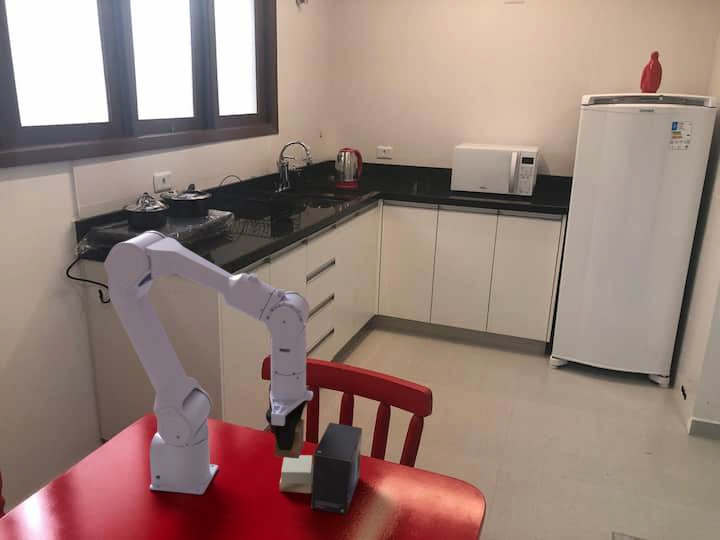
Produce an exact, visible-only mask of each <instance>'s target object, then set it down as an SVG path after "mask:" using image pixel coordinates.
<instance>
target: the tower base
mask: <svg viewBox="0 0 720 540" xmlns="http://www.w3.org/2000/svg"><path fill="white" fill-rule="evenodd" d="M312 485H313V464H312V472H311V483H310V484H303V483H281V479H280V480H279V492H290V493H299V494H300V493H301V494H312Z"/></svg>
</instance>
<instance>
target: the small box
mask: <svg viewBox="0 0 720 540" xmlns="http://www.w3.org/2000/svg"><path fill="white" fill-rule="evenodd" d="M362 435H363V428H362V427H359V426H358V427H357V426H354V425H353V426H352V425H346V424H341V423H334V422H329V423H328V425H327V427H326V429H325V431H324V432H323V435H322V436H321V438H320V441H319V442H318V444H317V446H316V448H315V450H314V453H313V455H312V465H313V485H312V492H311V505H310V508H311V509H312V510H317V511H318V510H319V511H325V512H330V513H334V514H339V515H345V516H346V515H347V513H348V511H349V508H350V505H351V502H352V501H353V496H354V494H355V491H356V488H357V484H358V482H359V480H360V470H361V451H362V439H363V438H362Z"/></svg>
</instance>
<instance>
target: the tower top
mask: <svg viewBox="0 0 720 540" xmlns="http://www.w3.org/2000/svg"><path fill="white" fill-rule="evenodd" d="M282 460H283V461H282V466H281V472H280V473H281V474H280V475H281V476H280V480H281V483H303V484H310V483H311V472H312V465H313V455H311V454H310V455H309V454H307V455H306V454H305V455H303V454H300V456H299V459H297V458H287V457H283V459H282Z"/></svg>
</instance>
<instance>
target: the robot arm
mask: <svg viewBox="0 0 720 540" xmlns="http://www.w3.org/2000/svg"><path fill="white" fill-rule="evenodd" d="M103 266H104V269H105V271H106V273H107V275H108V276H107V277H108V278H107V279H108V283H107V284H108V297H109V300H110V302H111V304H112V306H113V309H114V311H115V313H116V315H117V316H118V318H119V321H120V323H121V325H122V327H123V329H124V331H125V332H126V334H127V337H128V339H129V341H130V342H131V345H132V347H133V349H134V351H135V353H136V355H137V357H138V359H139V360H140V363H141V365H142V367H143V369H144V371H145V373H146V375H147V377H148V379H149V381H150V383H151V385H152V387H153V389H154V391H155V398H154V399H155V400H154V404H153V413H154V416H155V418H156V421H157V423H156V424H157V425H156V427H157V432H156V433H155V434H154V436H153V438H152V440H151V443H150V447H149V448H150V449H149V462H150V463H149V465H150V467H149V468H150V479H151V481H150V482H151V483H150V485H149V490H152V491H163V492H171V493H182V494H190V495H191V494H193V495H203V494H204V493H205V491H206V490H207V488H208V486H209V484H210V483H211V482H212V480H213V478H214V476H215V474H216V473H217V471H218V469H219V465H217V464H211V463H210V462H211V461H210V435H209V433H210V432H209V426H208V417H209V416H210V415H211V413H212V411H213V407H214V404H213V400H212V397H211V396H210V395H209V393H208V392H207V391H205V390H204V389H203V388H202V387H201V385H200V384H199V381H198V379H196V378H194V377H190V376H188V375H187V374H186V372H185V370H184V367H183V365H182V363H181V362H180V360H179V357H178V355H177V353H176V351H175V349H174V347H173V345H172V343H171V341H170V339H169V337H168V334H167V332H166V331H165V328H164V326H163V324H162V322H161V319H160V318H159V316H158V314H157V311H156V309H155V307H154V305H153V303H152V301H151V299H150V297H149V293H148V292H149V290H150V288H151V286H152V285H153V282H154V280H155V279H156V278H162V277H167V276H168V277H169V276H170V275H171V276H172V275H178V276H180V277H182V278H185V279H187V280H190V281H192V282H194V283H196V284H199V285H201V286H203V287H205V288H207V289H211V290H213V291H215V292H216V293H219V294H221V295H222V296H223V298H224V300H225V302H226V304H227V306H229V307H231V308H233V309H234V310H237V311H239V312H241V313H243V314H244V315H247V316H249V317H251V318H252V319H253V318H254V319H255V320H256V321H259V322H260V323H263V324H265V327H266V328H267V330H268V331H269V333H270V336H271V338H270V391H269V399H270V400H269V401H270V406H271V408H268V409H267V411H266V413H265V419H266V421H267V422H268V425H269V426H270V427H271V429H272V432H273V434H274V439H275V438H276V442H277V445H278V448H279V450H288V451H290V450H291V448H292V446H293V442H294V435H295V430H296V426H297V424H298V422H299V420H300V419H302V417H303V412H304V409H305V406H306V405H307V402H308V401H312V399H313V397H314V392H313V391H312V390H307V339H306V338H307V332H306V331H307V329H306V328H307V327H306V325H305V324H306V321H307V320H308V318H309V316H310V305H309V302H308V301H307V298H305V297H304V296H302V295H301V294H300V293H299V292H297V291H295V290H294V291H290V290H289V291H286V290H284V289H283V288H278V289H277V288H276V287H274V286H272V285H270V284H268V283H266V282H264V281H262V280H260V279H259V278H260V276H259V275H258V274H256V273H254V272H251V273H250V274H248V273H246V272H242V273H239V274H231V273H230V272H228V271H226V270H225V269H223V268H222V267H219V266H218V265H216V264H214V263H212V262H211V261H209V260H207V259H205V258H204V257H202V256H200V255H199V254H196V253H195V252H193V251H191V250H190V249H188V248H186V247H185V246H183V245H182V244H181V243H180V242H179V241H178V240H177V239H175V238H173V237H169V236H167V237H166V235H164V234H163V233H161V232H159V231H156V230H147V231H144V232H142V233H140V234H139V235H137V236H135V237H133V238H130V239H128V240H126V241H122V242H118V243H117V244H114V246H113V247H112V248H111V249H110V251H109V253H108V255H107V257H106V259H105V261H104V263H103Z"/></svg>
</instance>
